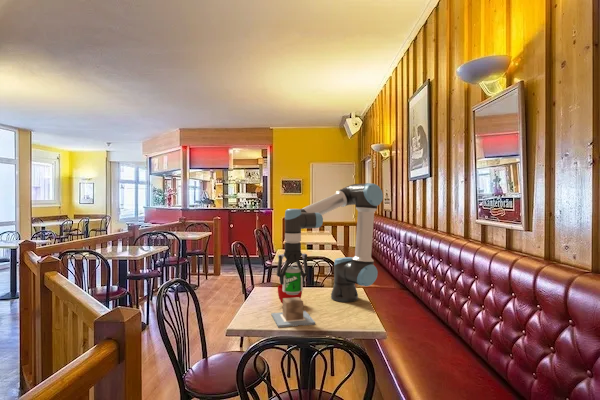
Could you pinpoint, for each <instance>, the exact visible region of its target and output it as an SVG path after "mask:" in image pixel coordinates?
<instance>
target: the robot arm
mask: <svg viewBox="0 0 600 400" xmlns="http://www.w3.org/2000/svg"><path fill="white" fill-rule="evenodd" d="M383 198H384V194H383V191H382V189H381V187H380V185H378V184H376V183H368V182H366V183H354V184H350V185H348V186H345V187H343V188H341V189H338V190H336V191H335V193H333V194H332V195H330V196H327V197H325V198H322V199H320V200H318V201H316V202H313V203H311V204H309V205H306V206H305V207H303V208H287V209H286V210H285V213H284V241H285V243H284V253H283V254H278V255H277V258H278V261H277V268H276V276H277V278H280V280H279V281H280V282H279V283H280V285H283V292H285V273H286V270H287V268H288V267H289V265H290V263H296V265H297V267H299V269H300V270H301V291H302V292H303V291H304V290H303V289H304V288H303V285H304V284H305V281H306V279H305V278H306V277H307V276H309V274H310V273H309V266H308V254H307V253H302V243H301V241H302V229H319V228H321V227H322V226H323V223H324V218H323V215H325V214H327V213H329V212H332V211H334V210H336V209H338V208H340V207H341V208H345V207H346V206H352V205H354V206H355V210H356V211H357V219H356V220H357V222H356V237H355V246H354V247H355V249H354V256H349V257H348V256H347V257H346V256H344V257H337V258H335V259H334V263H333V278H334V279H333V288H332V290H331V293H330V298H331V300H333V301H336V302H341V303H353V302H357V301H358V300H359V293H358V290H357V287H356V285H359V286H361V287H369V286H372V285H373V284H374V283H375V282H376V280H377V278H378V273H379V272H378V269H377V266H375V265H374V263H375V260H374V259H373V258H372V250H373V249H372V248H373V238H374V237H373V234H374V222H375V221H374V220H375V212H376V211H377V210H378V206H379V205H381V203H382V202H383V200H384V199H383ZM301 257H302V261H303V266H302V264H301V262H300V259H301ZM284 258H285V263H284V265H283V267H282V264H283V259H284ZM303 269H304V270H303Z"/></svg>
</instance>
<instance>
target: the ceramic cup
mask: <svg viewBox="0 0 600 400" xmlns="http://www.w3.org/2000/svg"><path fill="white" fill-rule="evenodd" d="M302 293H303V291H300V293H299V294H297V295H288V294H286V292H283V285H281V284H279V285H277V295H278V299H279V301H280V303H281V304H282V305H283V298H294V297H299V298H300V299H301V300H302V295H303V294H302Z"/></svg>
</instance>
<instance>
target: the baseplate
mask: <svg viewBox="0 0 600 400" xmlns="http://www.w3.org/2000/svg"><path fill="white" fill-rule="evenodd" d="M271 317H272V320H274V323H275V324H276V326H277V328H279V329H280V327H281V328H290V327H289V326H292V327H299V326H298V325H303V326H314V325H316V321H315V320H314V319H313V318H312V316H310V314H309V313H308V311H306V310H303V319H300V320H289V321H286V319H285V318H284V316H283V311H282V312H281V311H280V312H272V313H271Z"/></svg>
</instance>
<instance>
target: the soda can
mask: <svg viewBox="0 0 600 400" xmlns="http://www.w3.org/2000/svg"><path fill="white" fill-rule="evenodd" d="M284 277H285V292H286V294H288V295H297V294H299V293H300V291H301V270H300V269H299V267H298V266H288V268H287V270H286V273H285V275H284Z"/></svg>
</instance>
